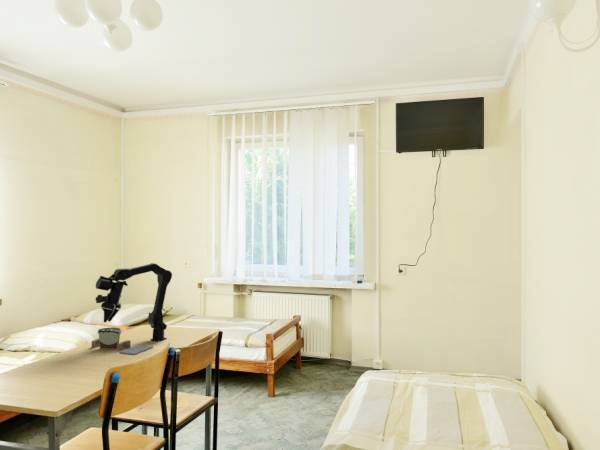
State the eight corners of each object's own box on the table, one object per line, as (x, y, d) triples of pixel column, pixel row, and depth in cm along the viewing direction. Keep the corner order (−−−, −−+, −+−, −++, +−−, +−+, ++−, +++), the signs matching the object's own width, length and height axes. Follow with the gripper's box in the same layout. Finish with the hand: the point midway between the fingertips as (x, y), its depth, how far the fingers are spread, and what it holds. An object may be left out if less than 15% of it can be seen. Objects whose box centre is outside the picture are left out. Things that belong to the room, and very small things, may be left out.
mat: (138, 346, 243) (138, 344, 243) (153, 347, 240) (153, 346, 240) (119, 353, 229) (119, 352, 229) (134, 354, 226) (134, 353, 226)
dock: (102, 344, 246) (102, 337, 246) (130, 347, 240) (130, 340, 240) (91, 347, 238) (91, 340, 238) (120, 350, 233) (120, 344, 233)
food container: (125, 346, 242) (125, 327, 242) (119, 349, 235) (120, 330, 235) (103, 345, 243) (103, 326, 243) (97, 348, 237) (97, 329, 237)
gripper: (104, 289, 249) (95, 317, 246) (95, 288, 230) (86, 319, 227) (125, 293, 250) (116, 322, 247) (117, 293, 232) (108, 324, 229)
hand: (106, 321), depth 238 cm, fingers open, 9 cm apart
